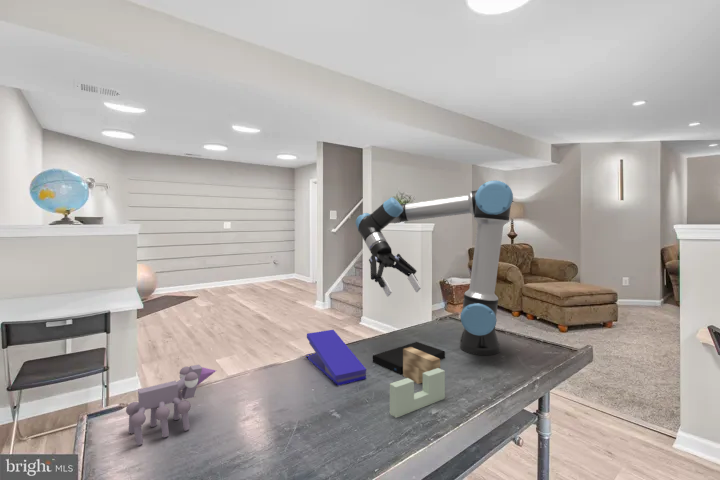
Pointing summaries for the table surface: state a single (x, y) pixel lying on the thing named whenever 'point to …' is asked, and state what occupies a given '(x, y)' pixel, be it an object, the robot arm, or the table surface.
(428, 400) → the green u-shaped block
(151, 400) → the grey toy animal figure
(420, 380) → the tan wooden block
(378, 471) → the table surface
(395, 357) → the external hard drive
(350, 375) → the blue foot pedal
